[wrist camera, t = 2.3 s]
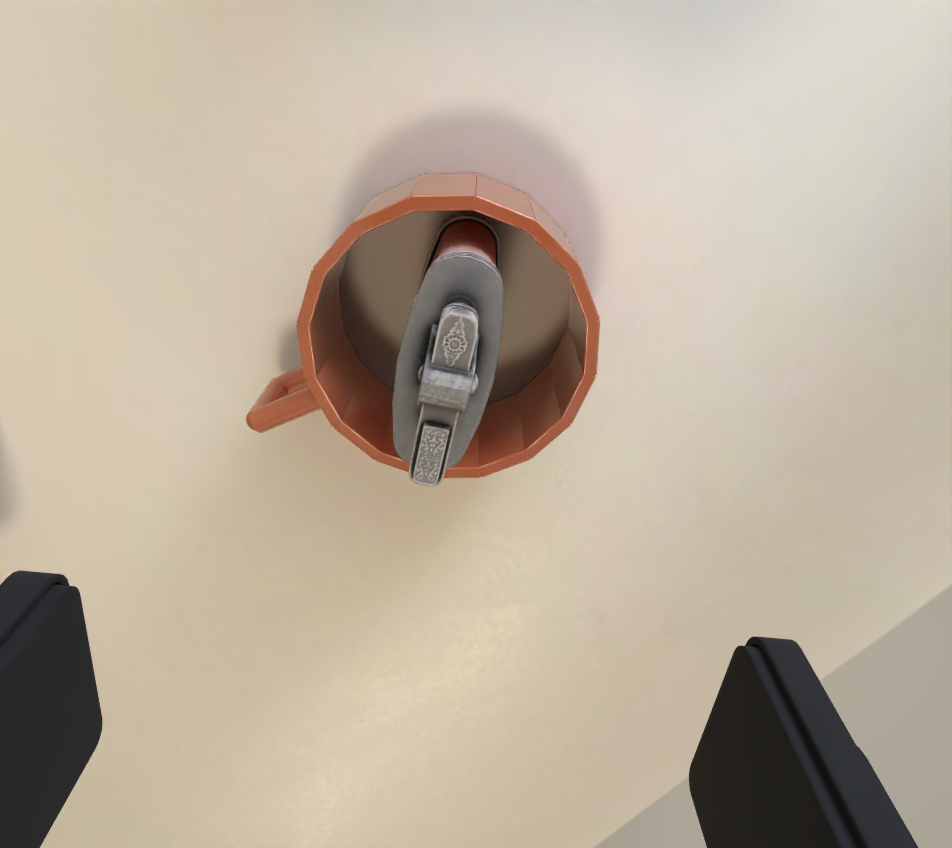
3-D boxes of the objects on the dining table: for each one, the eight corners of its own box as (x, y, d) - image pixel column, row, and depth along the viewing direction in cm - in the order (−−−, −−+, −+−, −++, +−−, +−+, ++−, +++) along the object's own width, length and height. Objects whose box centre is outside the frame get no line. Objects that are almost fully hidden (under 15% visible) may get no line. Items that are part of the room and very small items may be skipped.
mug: (524, 125, 27) (533, 139, 22) (614, 365, 32) (637, 420, 27) (211, 272, 30) (157, 312, 25) (335, 473, 34) (310, 540, 30)
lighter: (434, 203, 28) (410, 266, 20) (514, 222, 29) (527, 291, 20) (400, 379, 32) (367, 499, 23) (472, 394, 32) (467, 518, 23)
